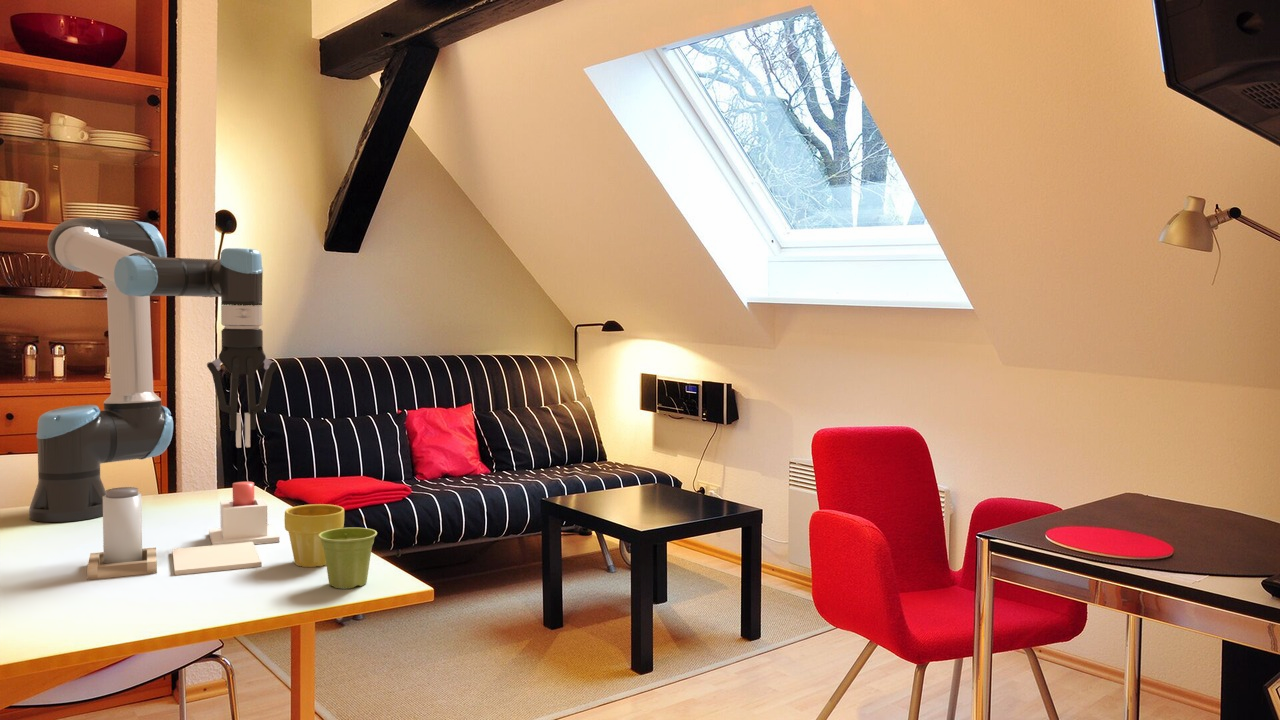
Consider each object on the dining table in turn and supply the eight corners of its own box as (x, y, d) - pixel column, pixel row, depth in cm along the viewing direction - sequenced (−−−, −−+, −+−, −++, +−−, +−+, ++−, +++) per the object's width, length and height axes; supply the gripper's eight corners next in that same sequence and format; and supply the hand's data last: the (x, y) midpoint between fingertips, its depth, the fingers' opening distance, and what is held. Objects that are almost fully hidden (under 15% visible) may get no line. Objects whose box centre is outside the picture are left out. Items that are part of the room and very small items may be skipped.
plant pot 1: (356, 558, 181) (356, 506, 180) (320, 572, 171) (320, 517, 171) (309, 552, 184) (309, 501, 184) (272, 566, 175) (271, 512, 174)
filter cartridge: (104, 566, 173) (103, 488, 172) (142, 562, 176) (141, 485, 175) (103, 574, 168) (101, 494, 167) (142, 571, 170) (141, 491, 170)
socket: (90, 564, 174) (90, 553, 174) (156, 558, 179) (156, 547, 179) (87, 579, 165) (87, 568, 165) (156, 572, 169) (156, 561, 169)
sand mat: (172, 553, 182) (172, 548, 182) (252, 545, 189) (252, 541, 189) (174, 575, 168) (174, 570, 168) (261, 566, 175) (261, 562, 174)
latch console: (209, 534, 197) (208, 500, 197) (272, 528, 203) (272, 495, 202) (212, 548, 187) (212, 511, 186) (279, 542, 192) (279, 506, 192)
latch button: (231, 507, 195) (231, 482, 195) (253, 505, 197) (253, 481, 197) (233, 511, 192) (233, 485, 191) (255, 509, 193) (255, 484, 193)
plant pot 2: (326, 576, 169) (326, 527, 169) (381, 576, 170) (381, 526, 169) (312, 592, 160) (312, 540, 159) (371, 592, 161) (371, 540, 160)
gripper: (204, 328, 186) (205, 451, 187) (282, 328, 192) (282, 447, 193) (202, 326, 192) (203, 445, 194) (277, 326, 199) (278, 442, 200)
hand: (243, 446), depth 193 cm, fingers closed
